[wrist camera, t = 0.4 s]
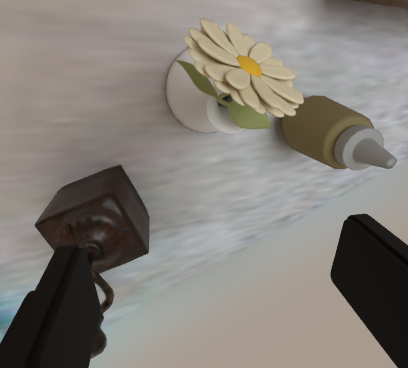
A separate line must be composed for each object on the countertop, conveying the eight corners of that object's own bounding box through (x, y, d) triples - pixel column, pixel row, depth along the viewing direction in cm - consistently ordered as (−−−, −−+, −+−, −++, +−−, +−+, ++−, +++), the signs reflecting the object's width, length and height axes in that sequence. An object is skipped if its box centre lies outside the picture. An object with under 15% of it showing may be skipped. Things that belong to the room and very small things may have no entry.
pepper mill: (52, 190, 40) (-19, 283, 24) (121, 162, 40) (97, 237, 24) (105, 262, 47) (78, 371, 31) (164, 239, 47) (168, 337, 31)
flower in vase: (263, 91, 38) (412, 145, 16) (204, 145, 40) (262, 259, 18) (203, 8, 33) (301, -85, 11) (138, 76, 35) (104, 118, 13)
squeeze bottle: (330, 128, 42) (436, 174, 26) (285, 154, 43) (360, 215, 27) (315, 80, 39) (426, 100, 23) (265, 110, 39) (339, 150, 23)
